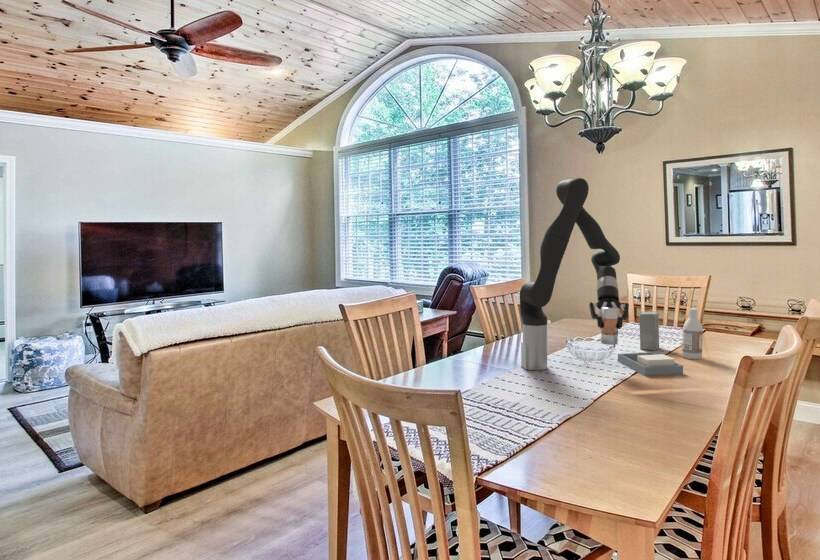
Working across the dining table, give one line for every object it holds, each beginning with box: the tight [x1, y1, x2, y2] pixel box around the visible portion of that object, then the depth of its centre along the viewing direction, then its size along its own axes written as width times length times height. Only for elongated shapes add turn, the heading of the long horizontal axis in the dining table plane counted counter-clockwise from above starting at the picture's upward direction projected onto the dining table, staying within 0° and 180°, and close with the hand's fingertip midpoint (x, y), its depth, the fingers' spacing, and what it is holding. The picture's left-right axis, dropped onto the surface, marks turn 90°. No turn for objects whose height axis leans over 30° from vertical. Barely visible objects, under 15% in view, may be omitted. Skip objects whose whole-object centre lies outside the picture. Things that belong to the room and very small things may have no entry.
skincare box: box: [638, 311, 660, 351], centre depth 221 cm, size 8×7×16 cm
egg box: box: [637, 353, 675, 367], centre depth 184 cm, size 10×7×5 cm
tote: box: [617, 351, 684, 377], centre depth 188 cm, size 14×20×4 cm
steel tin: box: [600, 307, 619, 346], centre depth 184 cm, size 6×6×13 cm
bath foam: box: [681, 307, 704, 361], centre depth 203 cm, size 7×7×20 cm
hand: (610, 327), depth 182 cm, fingers closed on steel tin, 5 cm apart
